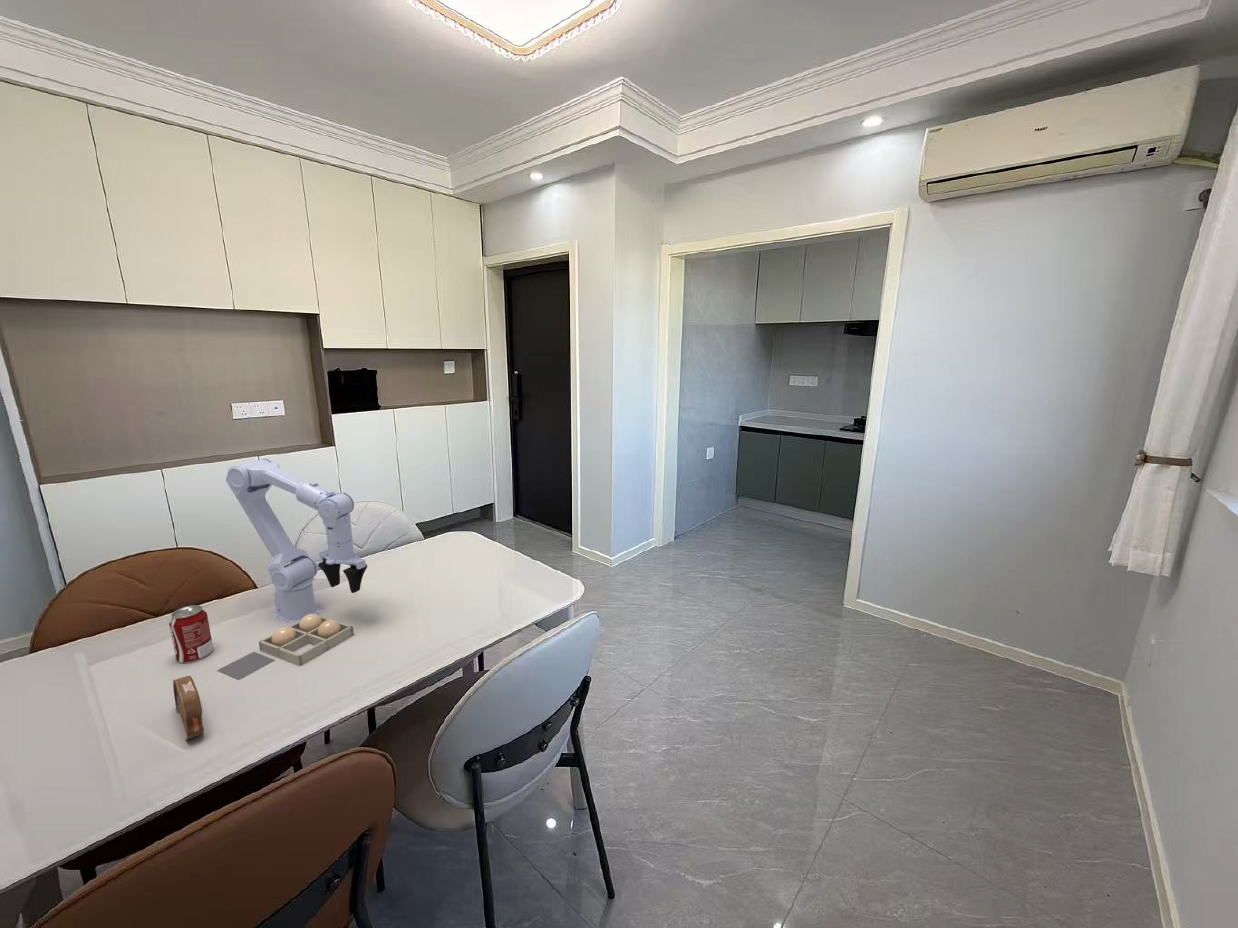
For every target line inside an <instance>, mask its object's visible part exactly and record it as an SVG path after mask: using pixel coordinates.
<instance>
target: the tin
mask: <svg viewBox="0 0 1238 928" xmlns="http://www.w3.org/2000/svg"><path fill="white" fill-rule="evenodd" d="M172 681H173V682H172V685H173V687H172V689H173V696H174V702H175V704H174V705H175V710H176V714H179V715H180V718H181V720H182V724H183V726H184V730H185V733H186V738H185V741H188V740H191V739H193V738H195V737H198V736H200V735H202V734H203V733H204V730H205V727H204V725H203V717H202V715H203V708H202V702H201V698H200V694H199V692H198V689H197V686H196V683H195V681H194V679H193V676H190V675H186V676H183V677H180V678H177V679H175V678H174V679H173V680H172Z"/></svg>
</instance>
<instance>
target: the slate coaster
mask: <svg viewBox="0 0 1238 928" xmlns="http://www.w3.org/2000/svg"><path fill="white" fill-rule="evenodd" d="M275 661H276V659H274V658H271V657H269V656H266V655H263V654H261V653H259V652H257V651H252V652H250V653H248V654H247V655H244V656H242V657H240V658H237V660H234V661H232V662H231V663H228V664H227V665H224V666H222V667H220V668H219V669H216V671H217V672H218V673H221V674H223V675H226V676H228V677H230V678H232V679H235V680H238V681H240V680H242V679H243V678H245V677H247V676H250V675H252V674H253V673H255V672H257V671H259V670H260V669H262V668H264V667H267V666H268V665H269V664H272V663H273V662H275Z"/></svg>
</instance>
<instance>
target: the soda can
mask: <svg viewBox="0 0 1238 928" xmlns="http://www.w3.org/2000/svg"><path fill="white" fill-rule="evenodd" d="M170 617H171V618H170V620H169V621H168V626H169V632H170V635H171V636H170V637H171V640H172V644H173V645H172V646H173V651H174V655H175V661H176V662H177V663H179V664H189V663H190V664H191V663H195V662H198V661H201V660H203V659H205V658H206V657H209V656H210V655H211V654H212V653H213V651H214V646H213V645H214V644H213V639H212V635H211V628H210V623H209V618H208V613H207V611H205V610H204V609H203V606H201V605H199V604H197V605H196V604H195V605H188V606H183V607H181V608H178V609H176V610H175V611H173V612H172V613H171V616H170Z"/></svg>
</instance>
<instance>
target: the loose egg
mask: <svg viewBox="0 0 1238 928" xmlns="http://www.w3.org/2000/svg"><path fill="white" fill-rule="evenodd" d="M271 635H272V638H271V641H272V644H273V645H275V646H278V647H281V646H283V645H285V644H287V643H289V642H291V641H293V640H295V639H296V632H295V631H294V629H292V628H291V627H289V626H282V627H279V628H277V629H276V630H275V631H274V632H273V633H272V634H271Z"/></svg>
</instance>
